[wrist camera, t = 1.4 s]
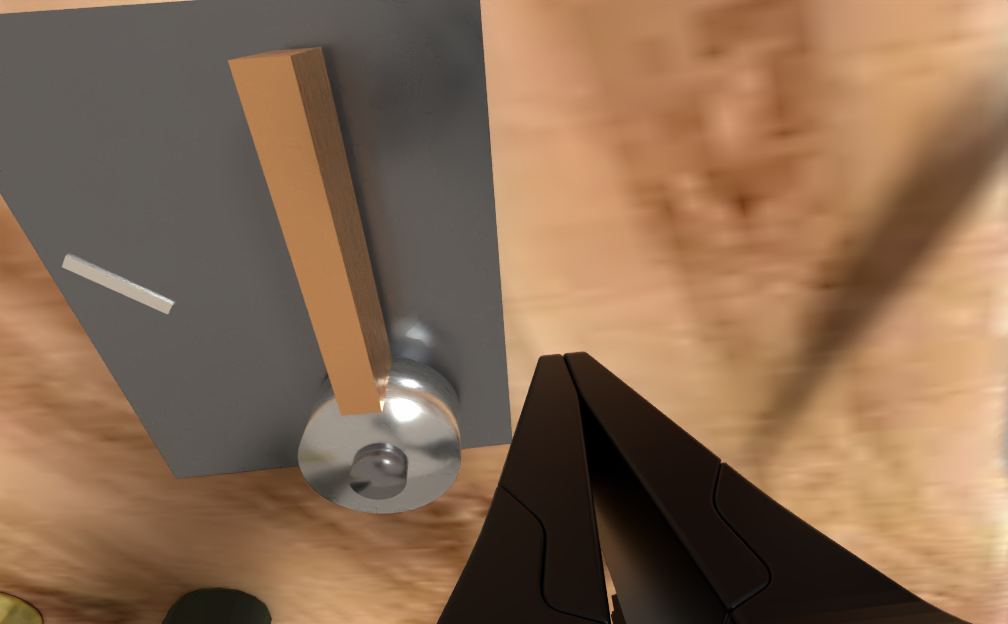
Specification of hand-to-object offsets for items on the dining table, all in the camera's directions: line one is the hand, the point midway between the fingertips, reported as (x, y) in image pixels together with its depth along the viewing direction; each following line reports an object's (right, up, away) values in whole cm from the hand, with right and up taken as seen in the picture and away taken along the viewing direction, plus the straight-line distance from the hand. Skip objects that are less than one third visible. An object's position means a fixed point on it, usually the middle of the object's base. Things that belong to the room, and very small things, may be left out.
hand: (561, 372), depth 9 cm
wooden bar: (-7, +1, +12) cm, 14 cm away
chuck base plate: (-10, +2, +13) cm, 16 cm away
